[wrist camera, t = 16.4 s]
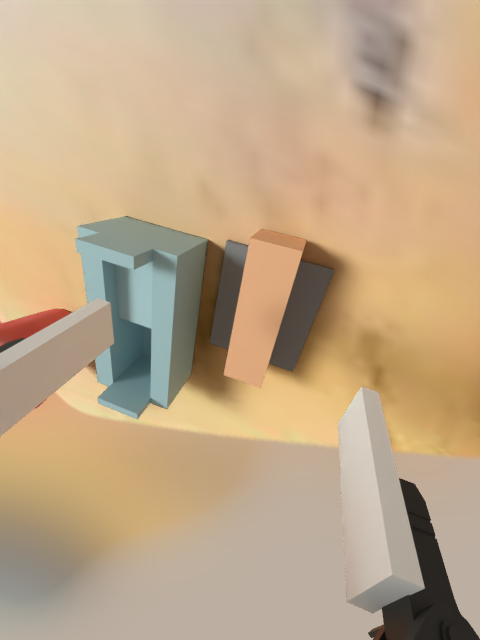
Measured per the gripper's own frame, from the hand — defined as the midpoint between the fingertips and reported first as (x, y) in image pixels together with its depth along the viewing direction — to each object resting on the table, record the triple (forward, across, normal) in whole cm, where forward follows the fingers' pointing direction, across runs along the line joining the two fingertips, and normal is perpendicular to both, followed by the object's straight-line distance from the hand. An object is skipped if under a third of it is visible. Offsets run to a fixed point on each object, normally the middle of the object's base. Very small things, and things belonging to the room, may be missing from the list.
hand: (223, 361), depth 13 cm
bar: (+13, 0, -3) cm, 14 cm away
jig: (+14, -11, -8) cm, 19 cm away
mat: (+14, 0, -4) cm, 14 cm away
